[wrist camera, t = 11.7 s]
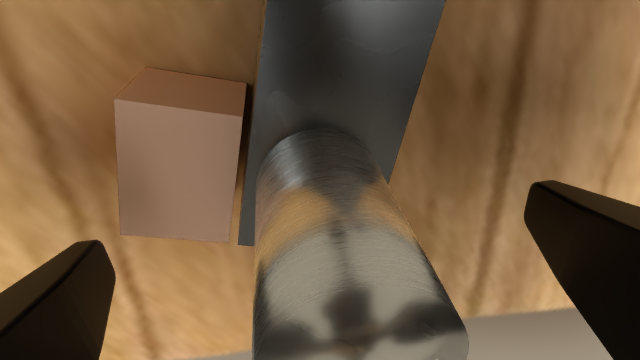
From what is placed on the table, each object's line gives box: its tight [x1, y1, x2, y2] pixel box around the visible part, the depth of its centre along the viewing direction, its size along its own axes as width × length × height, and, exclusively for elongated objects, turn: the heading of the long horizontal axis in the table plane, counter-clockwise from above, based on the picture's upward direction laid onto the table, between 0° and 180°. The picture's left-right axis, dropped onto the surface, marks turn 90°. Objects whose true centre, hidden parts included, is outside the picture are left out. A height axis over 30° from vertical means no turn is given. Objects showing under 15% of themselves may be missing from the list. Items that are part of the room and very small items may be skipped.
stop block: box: [114, 67, 247, 243], centre depth 12 cm, size 4×3×3 cm
